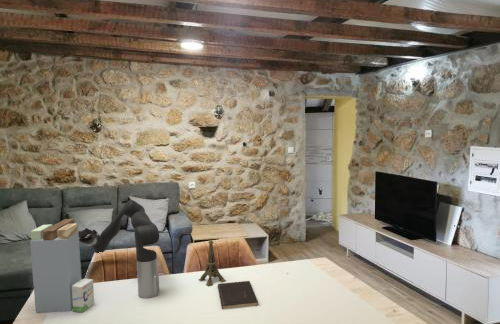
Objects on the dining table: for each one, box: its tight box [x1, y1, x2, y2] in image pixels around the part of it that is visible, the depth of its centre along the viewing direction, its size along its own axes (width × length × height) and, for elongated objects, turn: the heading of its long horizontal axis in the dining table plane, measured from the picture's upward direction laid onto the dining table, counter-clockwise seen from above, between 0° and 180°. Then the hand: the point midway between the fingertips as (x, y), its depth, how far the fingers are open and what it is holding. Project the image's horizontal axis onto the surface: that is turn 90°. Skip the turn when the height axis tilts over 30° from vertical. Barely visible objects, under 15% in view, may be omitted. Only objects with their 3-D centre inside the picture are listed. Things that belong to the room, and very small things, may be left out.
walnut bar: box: [43, 218, 75, 241], centre depth 168 cm, size 4×22×4 cm, turn 4°
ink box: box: [72, 278, 95, 313], centre depth 163 cm, size 9×5×12 cm, turn 168°
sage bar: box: [30, 223, 53, 241], centre depth 163 cm, size 4×11×4 cm, turn 4°
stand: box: [29, 230, 83, 314], centre depth 165 cm, size 15×13×32 cm
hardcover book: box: [217, 280, 259, 310], centre depth 172 cm, size 16×23×2 cm
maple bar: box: [57, 222, 78, 239], centre depth 164 cm, size 4×11×4 cm, turn 4°
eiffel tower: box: [198, 239, 227, 287], centre depth 189 cm, size 11×11×25 cm
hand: (77, 230), depth 187 cm, fingers open, 8 cm apart
